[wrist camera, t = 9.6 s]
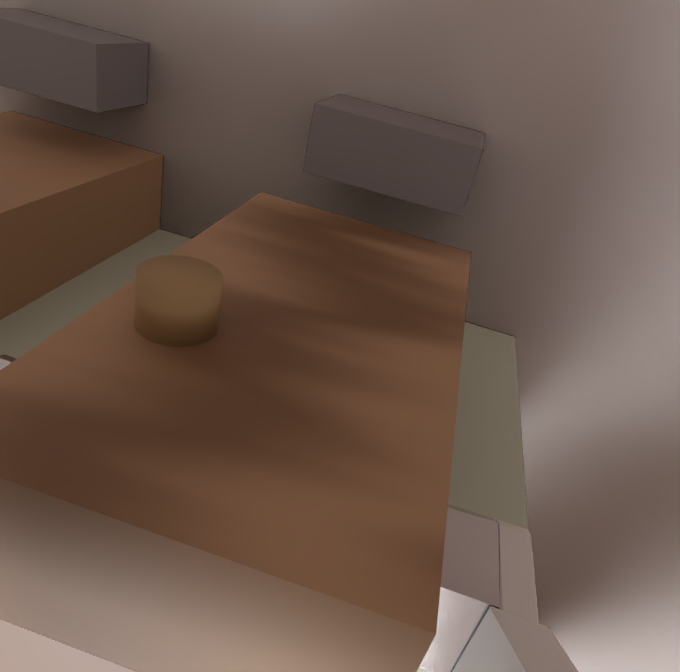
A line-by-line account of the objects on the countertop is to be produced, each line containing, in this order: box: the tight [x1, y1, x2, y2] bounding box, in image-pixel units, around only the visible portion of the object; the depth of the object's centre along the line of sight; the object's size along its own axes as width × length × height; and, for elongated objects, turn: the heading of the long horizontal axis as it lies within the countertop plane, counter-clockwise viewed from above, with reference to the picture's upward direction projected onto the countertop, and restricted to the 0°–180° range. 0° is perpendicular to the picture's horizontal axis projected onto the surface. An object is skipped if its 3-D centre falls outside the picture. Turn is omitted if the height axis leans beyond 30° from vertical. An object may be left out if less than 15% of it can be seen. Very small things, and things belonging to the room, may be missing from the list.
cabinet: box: [0, 8, 528, 672], centre depth 17 cm, size 24×13×12 cm, turn 78°
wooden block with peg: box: [0, 192, 471, 672], centre depth 12 cm, size 6×4×12 cm, turn 78°
